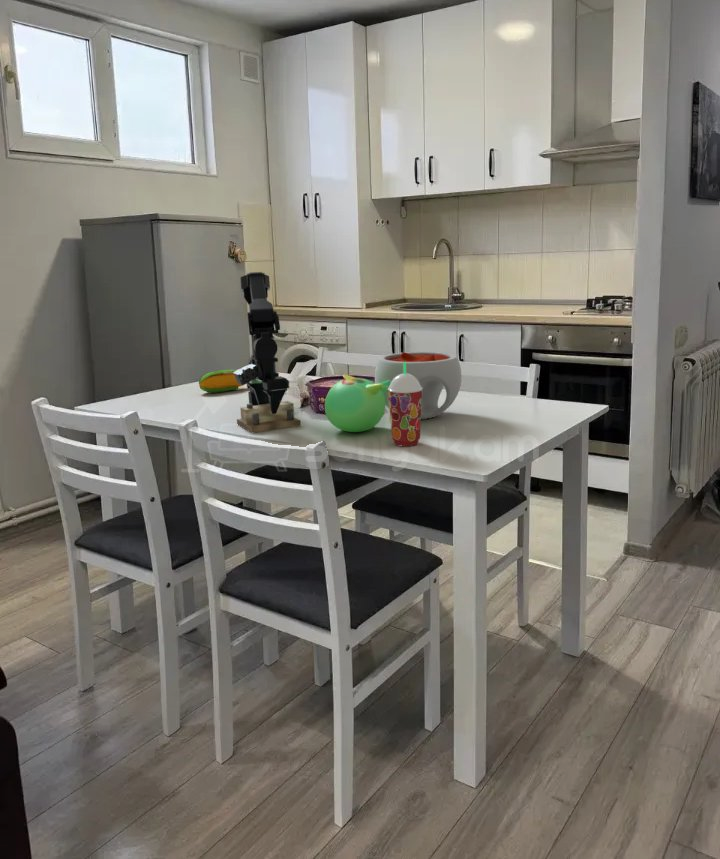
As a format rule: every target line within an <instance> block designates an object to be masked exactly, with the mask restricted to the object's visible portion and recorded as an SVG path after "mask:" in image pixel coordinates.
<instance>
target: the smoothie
mask: <svg viewBox="0 0 720 859" xmlns="http://www.w3.org/2000/svg"><path fill="white" fill-rule="evenodd" d="M422 390H423V388H422V387H421V385H420V383H419V381H418V380H417V378H416V377H414V376H413V375H411V374H408V373H406V362H403V373H402V374H399V375H397V376H396V377H395V378H394V379H393V380H392V381H391V383H390V386H389V388H388V398H389V408H388V410H389V417H390V418H389V419H390V432H391V439H392V440H393V443H394V445H395V444H396V445H395V446H397V445H402V446H401V447H405V446H406V447H412V446H411V445H414V446H416V445H418V444H417V443H419V440H420V439H421V428H422V427H421V426H422V420H421V408H422Z"/></svg>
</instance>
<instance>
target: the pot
mask: <svg viewBox="0 0 720 859" xmlns="http://www.w3.org/2000/svg"><path fill="white" fill-rule="evenodd" d="M403 362H406V373H408V374H411V375H413V376H414V377H416V378H417V380H418V381H419V383H420V385H421V387H422V388H423V390H422V408H421V419H422V420H428V419H427V418H429V419H432V417H433V418H435V417H437V416H439V415H441V414H443V413H444V412H446V411H447V409H449V408H450V407H451V405H453V403H454V402H455V400H456V398H457V397H458V395H459V392H460V391H461V390H460V389H461V385H462V379H463V378H462V376H463V375H462V368H461V364H460V361H459V359H458V357H457V355H455V354H452V353H447V352H440V351H439V352H438V351H408V352H405V351H404V352H397V353H391V354H386V355H382V356H380V357H379V358H378V360H377V362H376V366H375V370H374V383H375V384H378V383H382V382H385V381H388V380H390V381H392V380H393V379H394V378H395V377H396V376H397V375H399V374H402V373H403ZM444 388H445V393H446V394H445V395H446V396H445V400H444V403H443V404H442V405H441V406H440V407H439V398H440V395H441V393H442V391H443V389H444ZM384 397H385V407H386V408H387V409H389V398H388V390H387V391H386V392H385V394H384Z"/></svg>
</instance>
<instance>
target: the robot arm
mask: <svg viewBox="0 0 720 859" xmlns="http://www.w3.org/2000/svg"><path fill="white" fill-rule="evenodd" d="M239 284H240V285H239V286H240V293H242V294H243V295H242V296H243V298H244V300H245V302H246V303H247V304H248V307H249V308H248V310H249V311H247V313H246V316H247V317H246V318H247V327H248V335H249V336H250V338H251V339H250V340H251V351H252V352H251V353H252V354H251V356H250V357H249V359H248V361H247V365H245V366H243V367H241V368H238V369H236V370H237V371H233V373H234V376H235V378H236V380H237V383H238V384H239V383H240V384H241V385H243V386H244V384H245V385H246V387H247V388H246V389H249V391H248V404H253V406H256V405H263V404H270V407H271V411H272V414H276V413H277V410H278V408H279V405H280V403H281V402H282V400H283V398H284V396H285V393H286V392H288V389H290V381H289V380H288V379H287V378H286V377H284V376H282V375H281V376H279V375H280V374H279V372H277V368H276V363H278V362H279V359H278V357H276V354H277V351H278V344H277V342H276V340H275V337H274V334H275V335H276V334H279V331H281V324H280V318H279V317H280V316H279V314H278V313H277V311H276V310H274V305H273V303H272V302H270V301H269V300H268V291H270V289H271V284H270V275H267V274H265V272H263V271H256V272H255V271H253V272H248V273H246V275H243V276H240V280H239Z"/></svg>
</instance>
